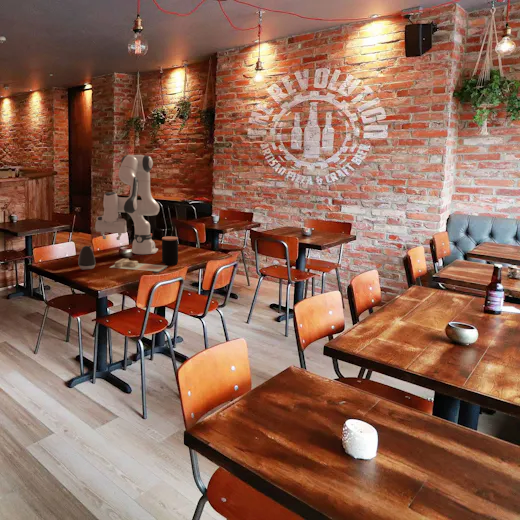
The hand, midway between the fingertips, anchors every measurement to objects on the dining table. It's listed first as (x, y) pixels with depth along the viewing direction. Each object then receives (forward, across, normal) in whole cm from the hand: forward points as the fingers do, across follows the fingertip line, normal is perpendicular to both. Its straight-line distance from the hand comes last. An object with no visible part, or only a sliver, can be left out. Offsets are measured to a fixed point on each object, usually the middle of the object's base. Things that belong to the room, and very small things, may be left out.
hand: (111, 239), depth 298 cm
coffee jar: (+17, -33, -19) cm, 42 cm away
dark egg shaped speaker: (+18, +10, +12) cm, 24 cm away
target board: (+18, -18, -1) cm, 26 cm away
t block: (+16, -11, -1) cm, 20 cm away
